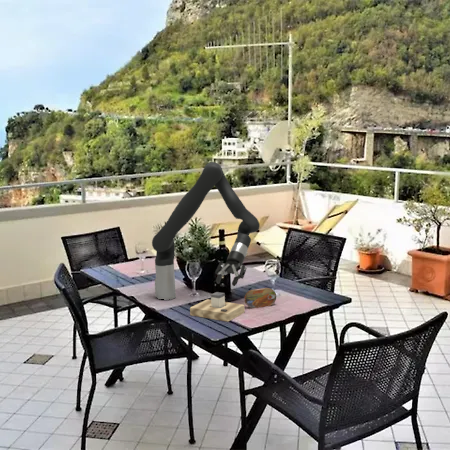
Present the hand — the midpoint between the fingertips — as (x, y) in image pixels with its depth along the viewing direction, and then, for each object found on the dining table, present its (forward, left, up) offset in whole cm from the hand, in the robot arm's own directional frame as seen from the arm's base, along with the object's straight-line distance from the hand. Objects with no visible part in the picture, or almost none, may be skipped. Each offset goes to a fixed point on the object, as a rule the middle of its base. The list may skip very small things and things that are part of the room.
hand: (225, 284), depth 256 cm
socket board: (0, -7, -12) cm, 14 cm away
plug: (0, -6, -12) cm, 14 cm away
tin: (+12, +11, -12) cm, 20 cm away
